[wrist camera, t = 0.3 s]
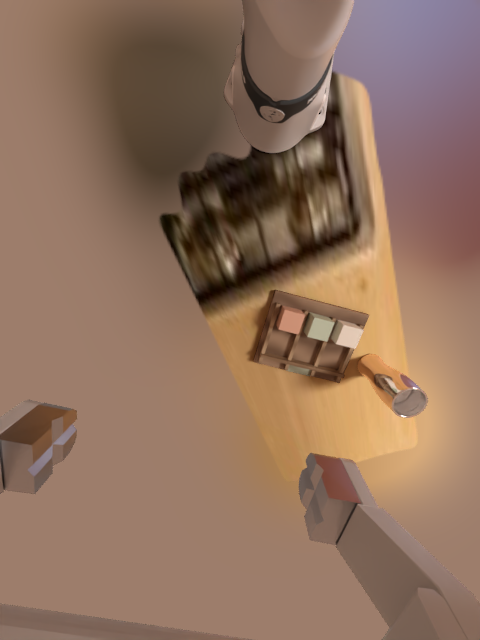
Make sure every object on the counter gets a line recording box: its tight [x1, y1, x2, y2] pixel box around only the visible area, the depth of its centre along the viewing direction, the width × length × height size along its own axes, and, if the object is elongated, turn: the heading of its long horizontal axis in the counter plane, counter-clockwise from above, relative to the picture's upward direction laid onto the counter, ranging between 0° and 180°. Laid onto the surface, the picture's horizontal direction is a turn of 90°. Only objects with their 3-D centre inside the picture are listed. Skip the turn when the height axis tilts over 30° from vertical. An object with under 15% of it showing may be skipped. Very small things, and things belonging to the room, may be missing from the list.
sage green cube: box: [303, 312, 335, 342], centre depth 53 cm, size 4×4×4 cm
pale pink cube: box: [330, 320, 364, 349], centre depth 53 cm, size 4×4×4 cm
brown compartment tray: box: [254, 290, 369, 383], centre depth 56 cm, size 18×22×3 cm
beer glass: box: [357, 354, 428, 418], centre depth 52 cm, size 7×7×15 cm
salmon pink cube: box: [276, 305, 305, 335], centre depth 52 cm, size 4×4×4 cm
